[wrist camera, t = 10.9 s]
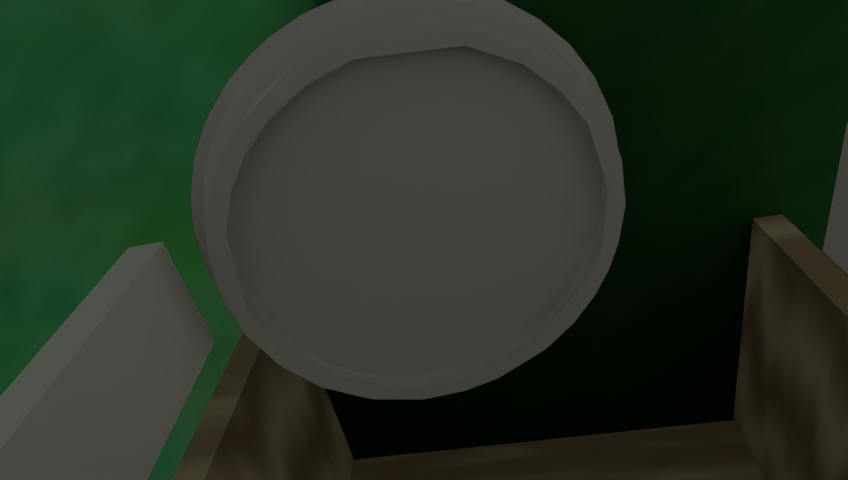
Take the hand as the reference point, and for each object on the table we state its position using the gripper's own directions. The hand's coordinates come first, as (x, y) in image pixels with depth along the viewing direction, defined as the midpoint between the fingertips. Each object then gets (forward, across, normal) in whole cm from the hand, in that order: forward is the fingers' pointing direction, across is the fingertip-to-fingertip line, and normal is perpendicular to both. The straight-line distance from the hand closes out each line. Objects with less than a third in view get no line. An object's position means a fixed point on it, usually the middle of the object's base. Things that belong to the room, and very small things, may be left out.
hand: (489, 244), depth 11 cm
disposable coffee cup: (+12, -4, 0) cm, 13 cm away
